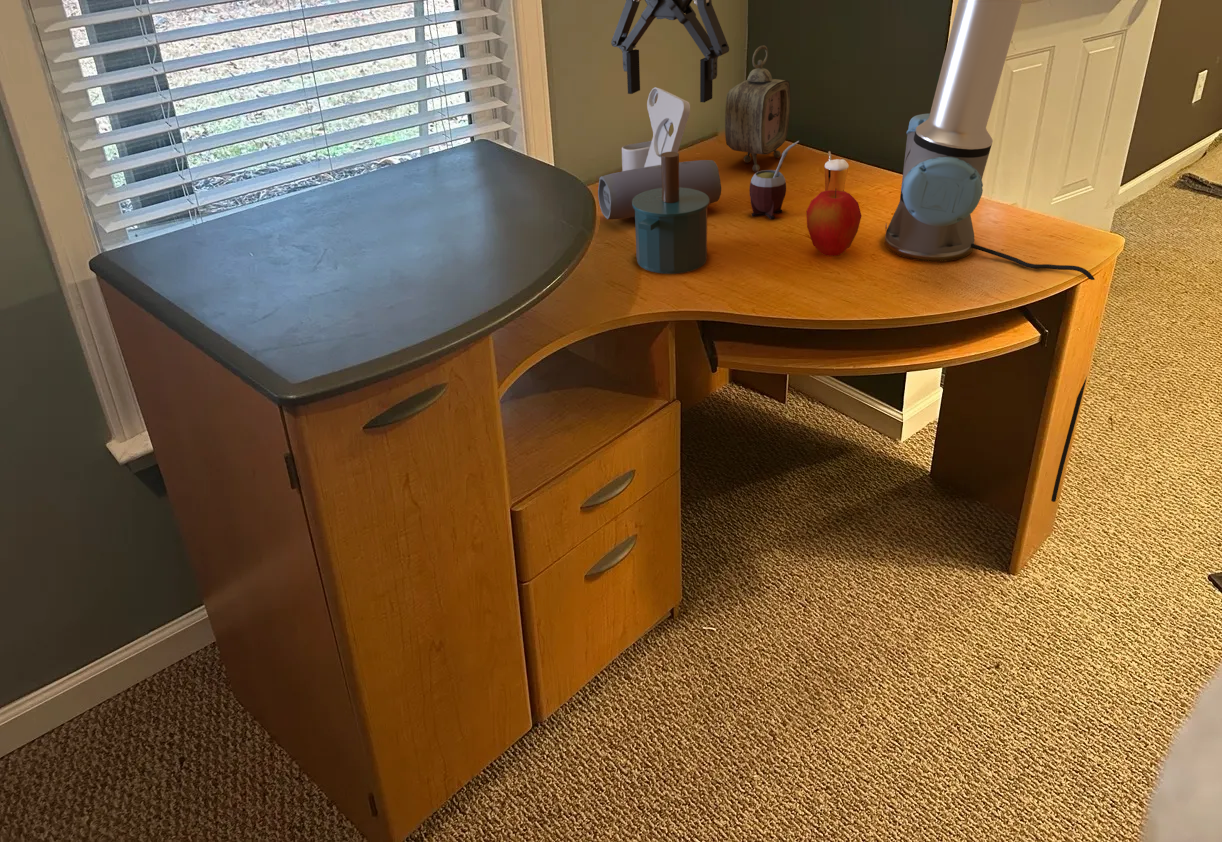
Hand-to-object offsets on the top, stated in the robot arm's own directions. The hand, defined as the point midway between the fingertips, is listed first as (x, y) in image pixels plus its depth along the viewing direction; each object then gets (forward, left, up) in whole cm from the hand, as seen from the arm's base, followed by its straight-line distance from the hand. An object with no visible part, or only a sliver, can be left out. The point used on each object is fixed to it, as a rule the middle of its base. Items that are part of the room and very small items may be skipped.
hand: (669, 96), depth 161 cm
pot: (0, 0, -29) cm, 29 cm away
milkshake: (-15, -38, -29) cm, 50 cm away
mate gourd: (-6, -28, -29) cm, 41 cm away
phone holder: (+24, -35, -29) cm, 51 cm away
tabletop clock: (+10, -55, -29) cm, 63 cm away
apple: (-24, -15, -29) cm, 40 cm away
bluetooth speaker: (+13, -18, -29) cm, 36 cm away
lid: (0, 0, -18) cm, 18 cm away
